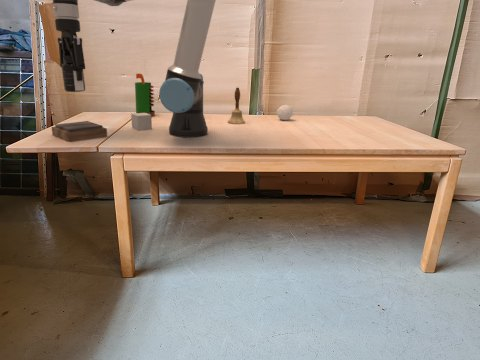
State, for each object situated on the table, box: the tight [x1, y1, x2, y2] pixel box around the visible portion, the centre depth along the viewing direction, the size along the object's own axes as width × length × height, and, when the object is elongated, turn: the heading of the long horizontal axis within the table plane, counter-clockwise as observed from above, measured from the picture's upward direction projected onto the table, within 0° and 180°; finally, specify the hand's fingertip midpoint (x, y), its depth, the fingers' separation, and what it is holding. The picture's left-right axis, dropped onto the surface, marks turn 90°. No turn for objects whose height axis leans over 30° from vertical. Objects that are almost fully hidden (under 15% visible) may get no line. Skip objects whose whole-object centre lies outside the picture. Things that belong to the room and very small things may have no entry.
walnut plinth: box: [51, 120, 108, 143], centre depth 135 cm, size 14×14×4 cm
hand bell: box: [227, 87, 246, 125], centre depth 170 cm, size 8×8×16 cm
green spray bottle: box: [134, 73, 156, 118], centre depth 179 cm, size 10×9×20 cm
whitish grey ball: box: [276, 104, 294, 121], centre depth 182 cm, size 8×8×8 cm
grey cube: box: [130, 112, 153, 131], centre depth 151 cm, size 6×6×6 cm
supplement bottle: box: [61, 55, 86, 93], centre depth 129 cm, size 7×7×12 cm
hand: (74, 89), depth 131 cm, fingers closed on supplement bottle, 7 cm apart
